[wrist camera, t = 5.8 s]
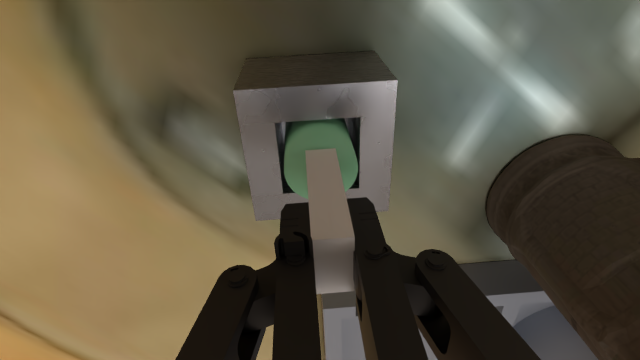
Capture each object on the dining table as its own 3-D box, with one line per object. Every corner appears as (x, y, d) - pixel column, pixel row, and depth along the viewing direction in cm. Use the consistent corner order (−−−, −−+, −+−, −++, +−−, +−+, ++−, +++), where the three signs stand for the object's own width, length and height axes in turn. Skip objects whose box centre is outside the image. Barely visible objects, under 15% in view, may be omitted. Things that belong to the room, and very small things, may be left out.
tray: (327, 397, 45) (330, 431, 42) (320, 275, 33) (323, 309, 30) (588, 373, 46) (610, 404, 43) (667, 247, 34) (704, 277, 31)
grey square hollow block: (262, 169, 27) (255, 220, 22) (246, 58, 23) (233, 90, 18) (370, 161, 27) (388, 210, 22) (374, 50, 23) (397, 80, 18)
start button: (288, 150, 25) (287, 203, 20) (283, 96, 23) (280, 139, 18) (344, 147, 25) (357, 197, 20) (343, 92, 23) (358, 134, 18)
